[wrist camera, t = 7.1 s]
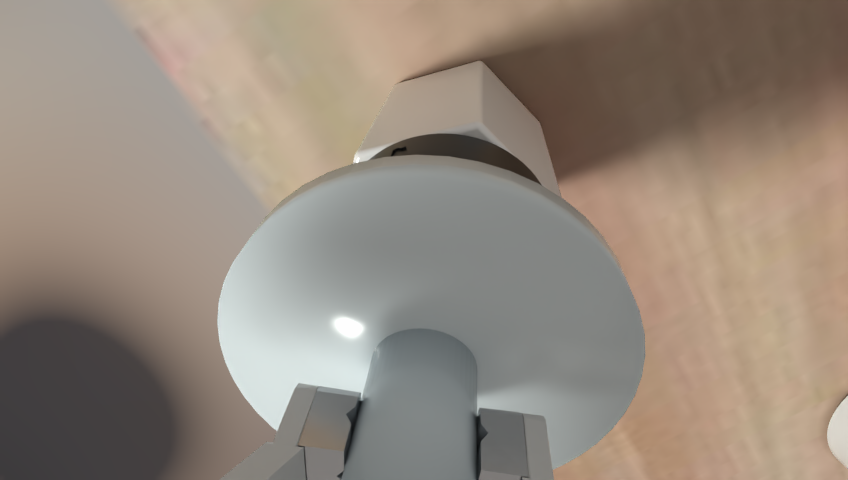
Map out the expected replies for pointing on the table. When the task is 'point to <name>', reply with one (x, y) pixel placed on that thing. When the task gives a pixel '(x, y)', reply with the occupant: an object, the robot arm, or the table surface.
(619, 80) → the table surface
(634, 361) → the lid
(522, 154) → the jar
